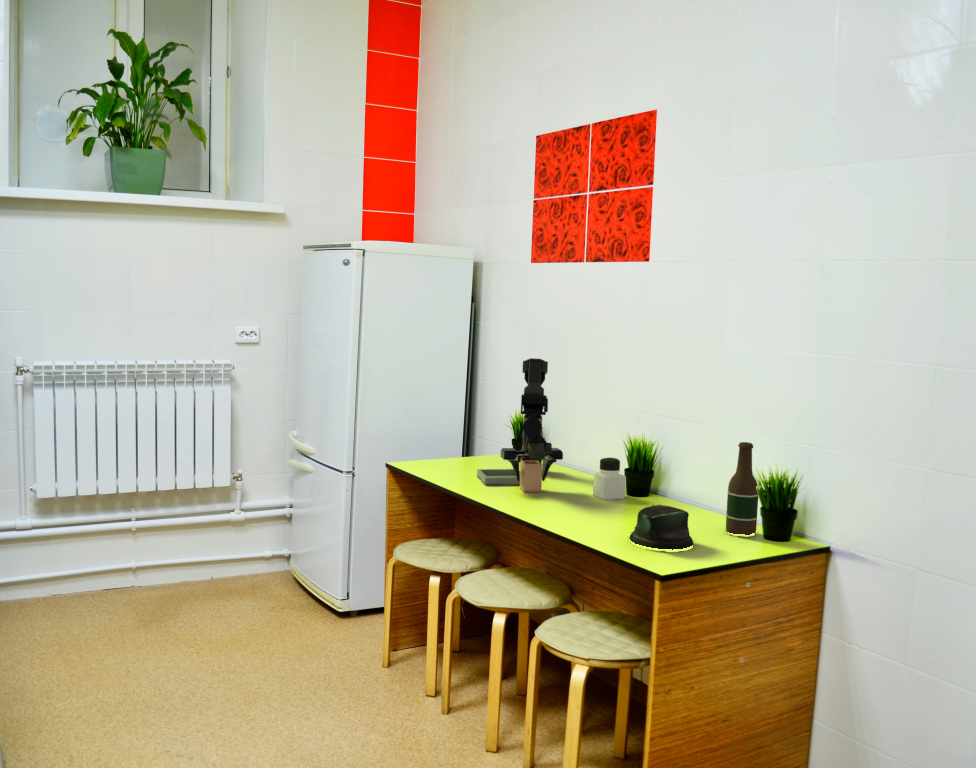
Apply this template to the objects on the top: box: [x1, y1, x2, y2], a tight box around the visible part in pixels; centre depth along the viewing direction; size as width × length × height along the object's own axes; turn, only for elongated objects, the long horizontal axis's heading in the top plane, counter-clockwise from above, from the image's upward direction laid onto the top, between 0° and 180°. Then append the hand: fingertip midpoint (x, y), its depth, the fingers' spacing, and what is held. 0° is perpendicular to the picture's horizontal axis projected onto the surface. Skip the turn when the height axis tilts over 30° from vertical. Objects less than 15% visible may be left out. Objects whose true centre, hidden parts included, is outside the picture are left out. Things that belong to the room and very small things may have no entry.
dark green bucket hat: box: [628, 504, 694, 550], centre depth 210 cm, size 20×20×9 cm
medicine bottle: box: [592, 457, 626, 501], centre depth 259 cm, size 7×7×12 cm
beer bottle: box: [725, 441, 759, 535], centre depth 220 cm, size 8×8×24 cm
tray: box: [476, 468, 520, 486], centre depth 278 cm, size 14×14×2 cm
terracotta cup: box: [519, 460, 543, 494], centre depth 264 cm, size 6×6×9 cm
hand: (530, 481), depth 264 cm, fingers open, 8 cm apart
